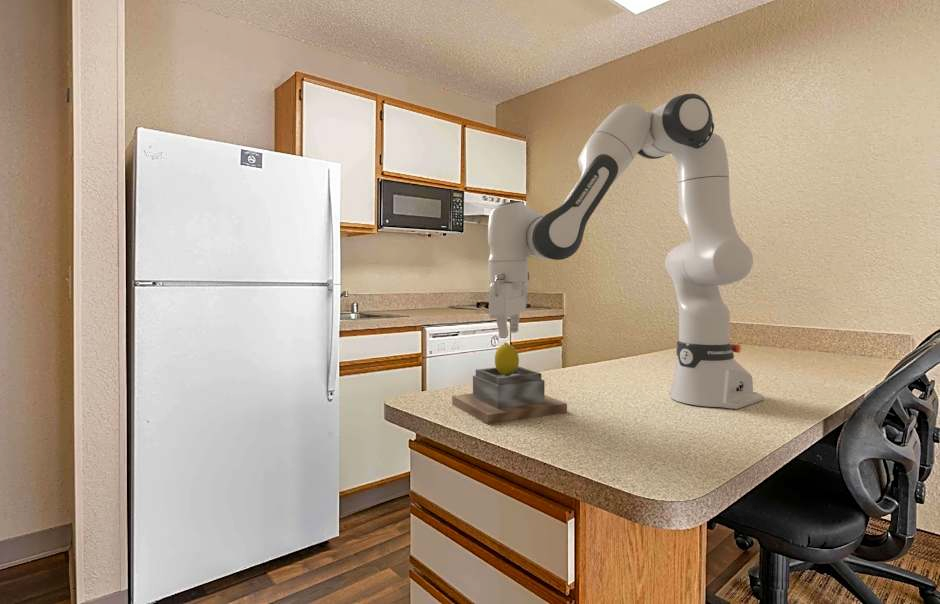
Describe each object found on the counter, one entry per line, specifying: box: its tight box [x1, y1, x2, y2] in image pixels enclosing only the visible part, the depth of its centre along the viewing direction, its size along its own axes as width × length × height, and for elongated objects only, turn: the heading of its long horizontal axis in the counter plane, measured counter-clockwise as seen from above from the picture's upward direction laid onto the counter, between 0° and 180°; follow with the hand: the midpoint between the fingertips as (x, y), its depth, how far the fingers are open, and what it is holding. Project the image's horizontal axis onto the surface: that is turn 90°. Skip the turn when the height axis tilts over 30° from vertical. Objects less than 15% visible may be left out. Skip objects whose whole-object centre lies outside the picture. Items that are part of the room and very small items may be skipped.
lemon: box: [494, 342, 520, 376], centre depth 114 cm, size 6×6×8 cm
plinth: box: [451, 365, 568, 425], centre depth 114 cm, size 20×18×8 cm
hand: (509, 334), depth 113 cm, fingers open, 8 cm apart
